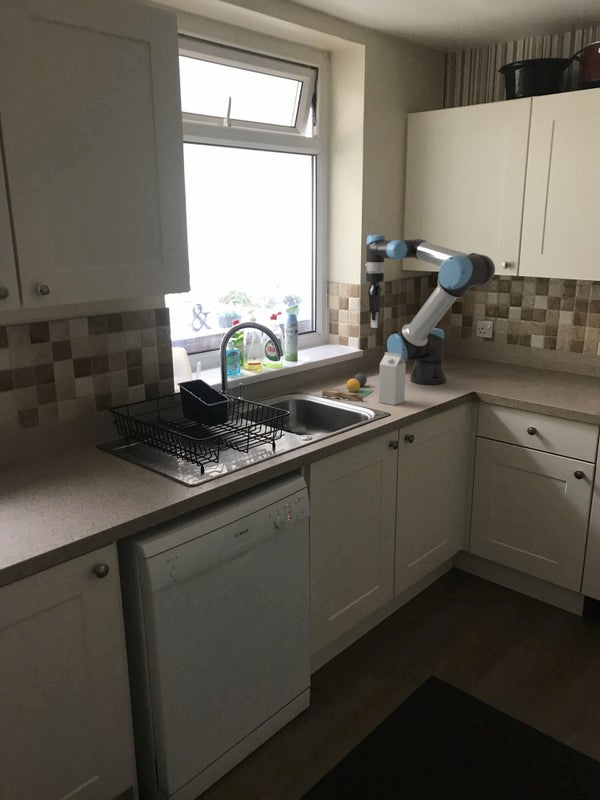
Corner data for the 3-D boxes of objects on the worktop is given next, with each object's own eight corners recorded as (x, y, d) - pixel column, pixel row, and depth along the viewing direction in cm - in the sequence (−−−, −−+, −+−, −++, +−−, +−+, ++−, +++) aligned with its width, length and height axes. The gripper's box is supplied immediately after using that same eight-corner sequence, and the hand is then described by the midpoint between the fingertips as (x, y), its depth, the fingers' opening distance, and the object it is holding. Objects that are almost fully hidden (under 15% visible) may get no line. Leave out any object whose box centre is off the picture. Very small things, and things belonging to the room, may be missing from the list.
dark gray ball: (365, 372, 270) (362, 384, 269) (370, 377, 275) (366, 389, 273) (353, 370, 273) (350, 382, 271) (358, 375, 277) (354, 387, 276)
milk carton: (388, 398, 255) (389, 350, 250) (404, 401, 250) (406, 352, 245) (378, 402, 249) (379, 353, 244) (394, 405, 245) (396, 355, 240)
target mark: (373, 390, 266) (373, 390, 266) (361, 399, 254) (361, 398, 254) (341, 387, 272) (341, 387, 272) (328, 395, 260) (328, 395, 260)
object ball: (362, 377, 265) (357, 381, 260) (361, 390, 266) (357, 394, 262) (349, 376, 267) (344, 380, 262) (348, 389, 268) (344, 393, 264)
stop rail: (362, 400, 253) (362, 394, 252) (360, 401, 251) (360, 395, 250) (324, 396, 259) (324, 390, 258) (322, 397, 257) (322, 391, 257)
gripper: (370, 271, 286) (369, 324, 292) (362, 273, 275) (361, 329, 281) (387, 271, 284) (386, 325, 290) (379, 273, 272) (378, 330, 278)
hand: (374, 327), depth 285 cm, fingers closed
